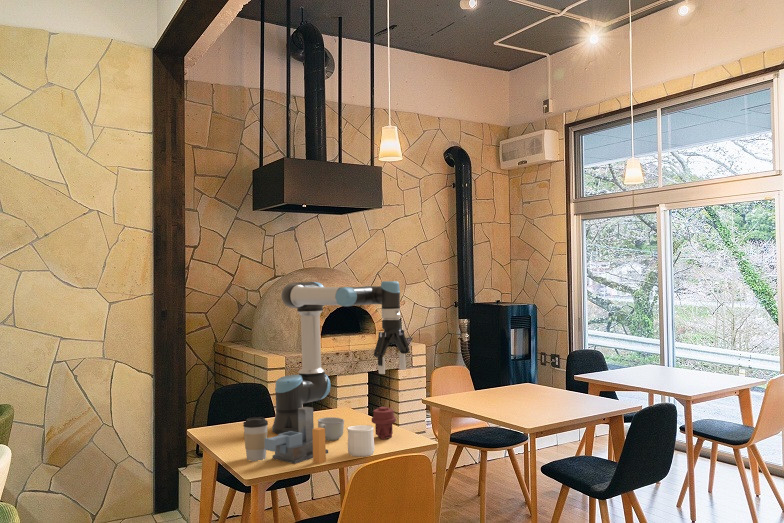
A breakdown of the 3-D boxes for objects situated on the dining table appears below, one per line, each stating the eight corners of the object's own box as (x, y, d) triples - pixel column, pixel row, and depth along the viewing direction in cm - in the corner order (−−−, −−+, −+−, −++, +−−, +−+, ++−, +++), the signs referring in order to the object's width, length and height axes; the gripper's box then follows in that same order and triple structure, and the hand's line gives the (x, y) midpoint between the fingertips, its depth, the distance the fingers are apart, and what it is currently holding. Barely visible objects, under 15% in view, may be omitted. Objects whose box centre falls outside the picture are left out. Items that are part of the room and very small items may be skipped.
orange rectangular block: (313, 462, 230) (312, 428, 230) (319, 460, 232) (318, 427, 232) (319, 464, 227) (318, 430, 228) (325, 461, 230) (325, 428, 230)
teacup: (330, 434, 271) (329, 415, 271) (349, 437, 264) (349, 418, 264) (307, 441, 259) (307, 422, 259) (327, 445, 253) (327, 425, 253)
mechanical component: (398, 435, 267) (393, 441, 257) (375, 434, 269) (369, 440, 259) (397, 405, 267) (392, 410, 257) (374, 405, 269) (368, 409, 259)
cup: (377, 455, 237) (376, 429, 237) (351, 458, 234) (350, 431, 234) (371, 449, 246) (370, 423, 246) (345, 451, 243) (345, 426, 243)
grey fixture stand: (272, 458, 236) (271, 411, 236) (306, 448, 249) (305, 404, 250) (294, 463, 228) (293, 415, 229) (328, 452, 242) (327, 407, 242)
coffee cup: (245, 455, 241) (244, 415, 241) (270, 454, 241) (269, 414, 242) (242, 462, 232) (241, 421, 232) (267, 461, 232) (266, 420, 233)
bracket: (263, 455, 229) (263, 438, 229) (291, 447, 239) (290, 430, 240) (275, 458, 225) (274, 440, 226) (302, 450, 235) (302, 433, 236)
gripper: (378, 321, 247) (380, 376, 247) (416, 317, 267) (418, 368, 266) (364, 320, 252) (365, 374, 251) (402, 316, 272) (403, 367, 271)
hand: (392, 371), depth 259 cm, fingers open, 13 cm apart
